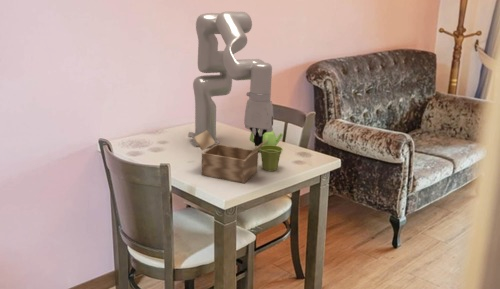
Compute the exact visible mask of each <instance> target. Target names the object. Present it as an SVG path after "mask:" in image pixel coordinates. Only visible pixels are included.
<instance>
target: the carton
mask: <svg viewBox="0 0 500 289" xmlns="http://www.w3.org/2000/svg"><path fill="white" fill-rule="evenodd" d="M253 150H254V149H248V148H243V147H238V146H231V145H224V144H220V143H219V144H216V145H214V146H213V147H209V148H207V149H206V150H205V151H203V152H202V153H201V176H202V177H208V178H213V179H218V180H223V181H229V182H235V183H240V184H244V185H245V184H246V183H247V182H248V181H249V180H250V179H251V178H253V177H254V176H255V175H256V174H257V173H258V166H259V165H258V163H259V162H258V161H259V152H258V151H256V152H255V153H254V154H253V155H251V156H250V157H249V158H247V156H248V155H249V154H250V153H251V152H252V151H253Z"/></svg>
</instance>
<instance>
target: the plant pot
mask: <svg viewBox="0 0 500 289" xmlns="http://www.w3.org/2000/svg"><path fill="white" fill-rule="evenodd" d="M259 150H260V152H259V153H260V156H261V167H262V169H263V170H265V171H266V172H267V171H268V172H274V171H276V170H278V168H279V164H280V163H279V162H280V158H281V154H282V152H283V147H282V146H278V145H276V146H275V145H264V146H262V147H261V148H260V149H259Z"/></svg>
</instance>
